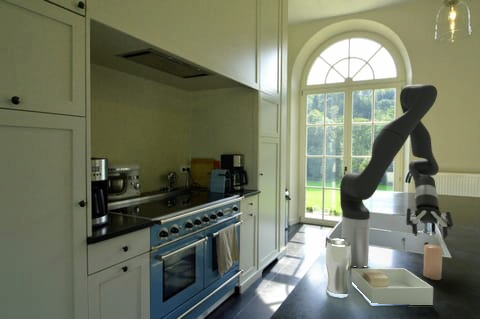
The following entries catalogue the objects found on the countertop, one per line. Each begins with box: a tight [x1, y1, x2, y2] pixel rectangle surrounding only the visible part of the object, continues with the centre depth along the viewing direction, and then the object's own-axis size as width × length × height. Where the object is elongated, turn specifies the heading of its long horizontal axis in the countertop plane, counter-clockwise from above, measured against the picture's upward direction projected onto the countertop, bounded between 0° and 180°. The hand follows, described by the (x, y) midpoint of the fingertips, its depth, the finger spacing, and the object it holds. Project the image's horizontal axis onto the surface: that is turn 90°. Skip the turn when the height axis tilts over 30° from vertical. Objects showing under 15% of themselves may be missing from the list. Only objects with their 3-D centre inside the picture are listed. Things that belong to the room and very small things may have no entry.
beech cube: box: [362, 271, 388, 288], centre depth 86 cm, size 5×5×5 cm
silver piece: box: [325, 238, 351, 294], centre depth 86 cm, size 7×7×15 cm
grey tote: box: [351, 267, 434, 305], centre depth 86 cm, size 17×13×5 cm
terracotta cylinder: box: [422, 243, 443, 281], centre depth 99 cm, size 5×5×10 cm
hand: (429, 236), depth 105 cm, fingers open, 8 cm apart
